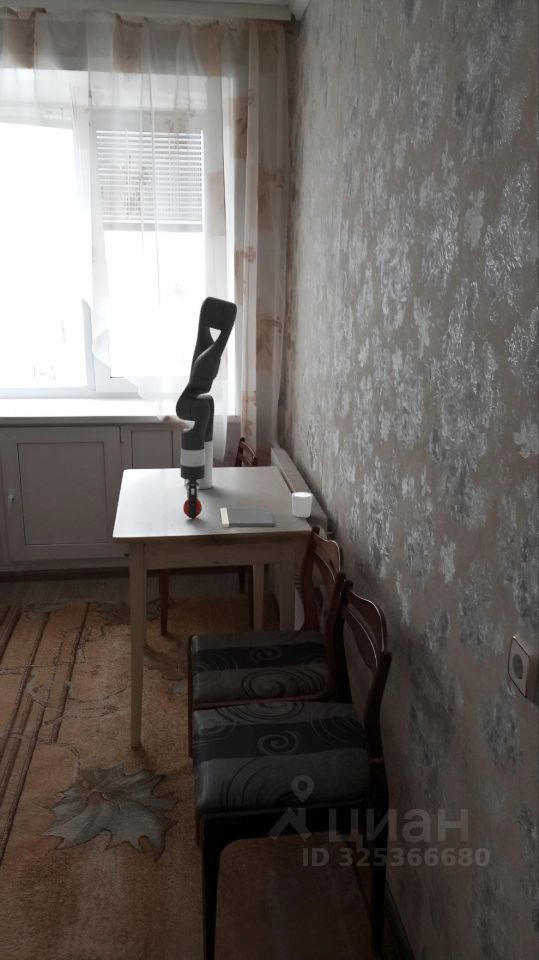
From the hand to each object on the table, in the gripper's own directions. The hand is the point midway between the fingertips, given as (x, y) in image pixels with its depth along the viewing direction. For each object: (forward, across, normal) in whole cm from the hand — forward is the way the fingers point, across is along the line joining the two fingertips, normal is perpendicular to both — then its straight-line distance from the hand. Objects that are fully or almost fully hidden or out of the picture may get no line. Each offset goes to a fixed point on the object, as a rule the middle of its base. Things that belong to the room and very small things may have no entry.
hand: (192, 514), depth 235 cm
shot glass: (+2, +4, -35) cm, 35 cm away
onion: (+2, 0, 0) cm, 2 cm away
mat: (+2, 0, -17) cm, 17 cm away
